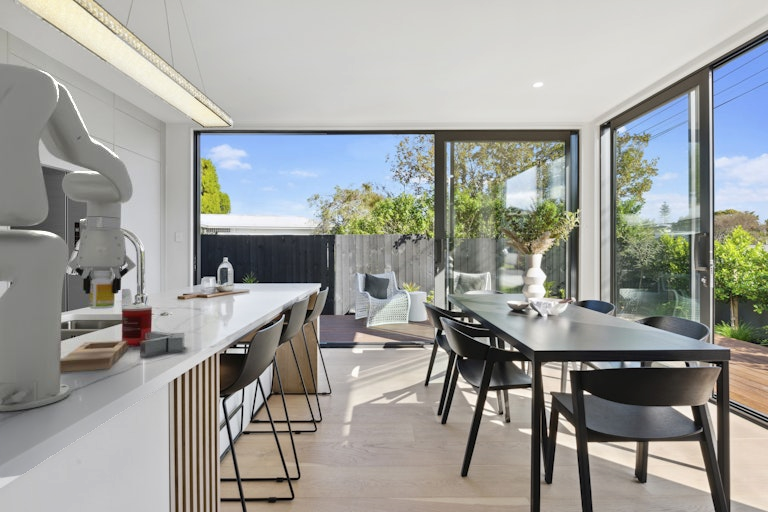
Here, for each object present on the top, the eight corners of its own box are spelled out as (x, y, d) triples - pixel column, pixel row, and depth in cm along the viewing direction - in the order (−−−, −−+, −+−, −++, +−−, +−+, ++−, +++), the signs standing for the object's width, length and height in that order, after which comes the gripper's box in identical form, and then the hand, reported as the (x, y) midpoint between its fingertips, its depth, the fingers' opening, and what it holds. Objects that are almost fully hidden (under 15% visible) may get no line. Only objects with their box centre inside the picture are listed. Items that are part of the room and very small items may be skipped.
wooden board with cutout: (109, 368, 100) (109, 358, 100) (58, 372, 96) (58, 361, 96) (127, 349, 118) (127, 340, 118) (85, 351, 115) (85, 342, 115)
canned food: (148, 339, 131) (149, 304, 131) (153, 344, 125) (154, 307, 125) (119, 342, 126) (120, 306, 126) (123, 347, 120) (124, 309, 120)
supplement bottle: (118, 306, 114) (119, 271, 114) (103, 309, 108) (104, 271, 108) (100, 306, 114) (101, 270, 114) (84, 308, 109) (85, 271, 109)
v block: (139, 357, 110) (139, 342, 110) (148, 344, 124) (149, 331, 124) (180, 355, 113) (181, 340, 113) (185, 343, 128) (185, 329, 128)
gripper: (59, 222, 105) (57, 295, 105) (138, 225, 111) (136, 294, 111) (69, 224, 112) (68, 292, 112) (143, 227, 118) (141, 291, 118)
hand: (102, 292), depth 111 cm, fingers closed on supplement bottle, 5 cm apart
